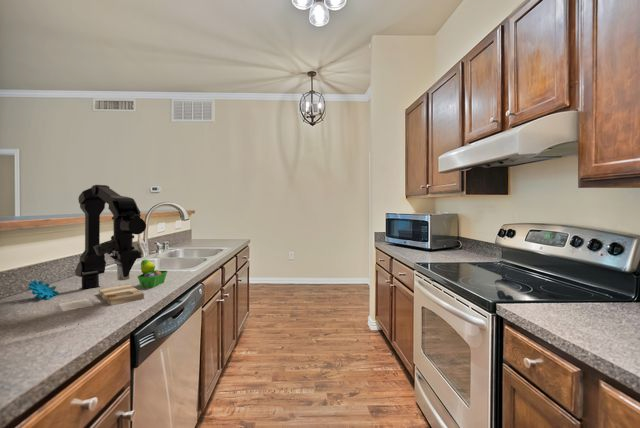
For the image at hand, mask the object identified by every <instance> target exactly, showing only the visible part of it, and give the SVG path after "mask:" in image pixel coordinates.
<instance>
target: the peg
mask: <svg viewBox="0 0 640 428" xmlns="http://www.w3.org/2000/svg"><path fill="white" fill-rule="evenodd" d="M114 265H116V266H117V267H116V268H117V269H116V270H117V276H116V277H117V281H127V280H130V273H129V274H128V276H127V277H123V272H122V267H121V263H120V262H119V261H117V260H114Z"/></svg>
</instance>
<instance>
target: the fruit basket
mask: <svg viewBox="0 0 640 428" xmlns="http://www.w3.org/2000/svg"><path fill="white" fill-rule="evenodd" d="M155 269H156V265H155V264H154V263H153V262H151V261H150V260H149V259H142V260H141V263H140V270H141V271H140V272H141V273H142V274H139V275H138V276H136V277H137V279H138V281H139V284H140V286H141V288H156V287H157V286H159V284H160V285H161V284H164V283H165V280H166V277H167V274H168V270H158V269H156V270H155ZM163 282H164V283H163Z"/></svg>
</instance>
